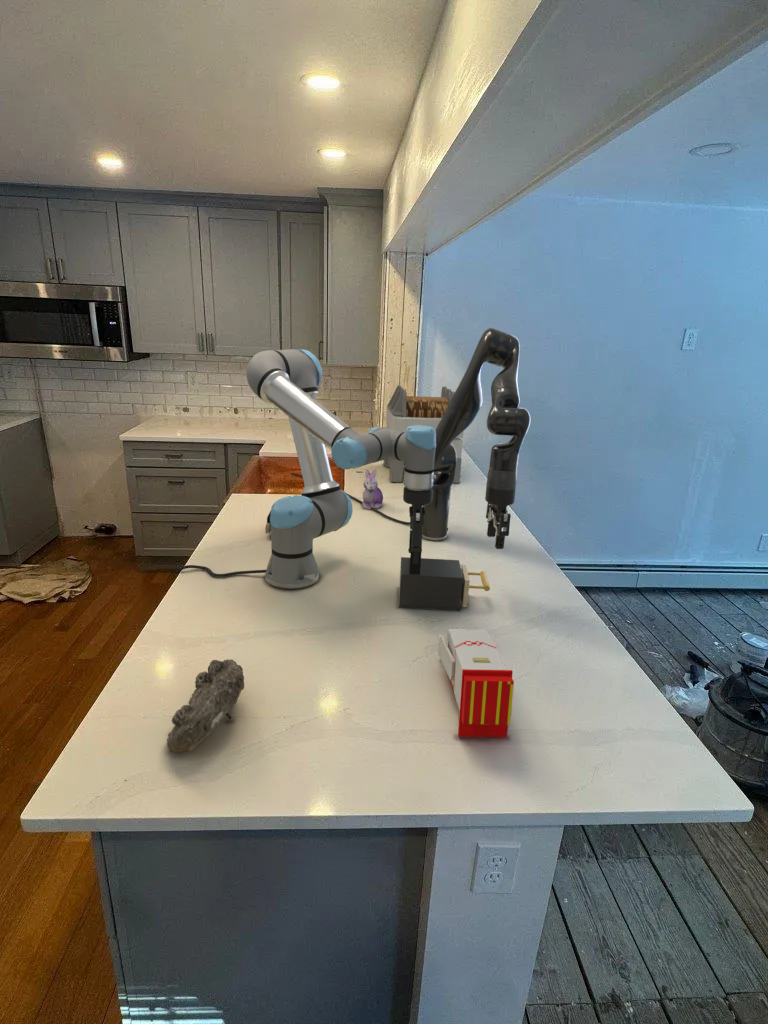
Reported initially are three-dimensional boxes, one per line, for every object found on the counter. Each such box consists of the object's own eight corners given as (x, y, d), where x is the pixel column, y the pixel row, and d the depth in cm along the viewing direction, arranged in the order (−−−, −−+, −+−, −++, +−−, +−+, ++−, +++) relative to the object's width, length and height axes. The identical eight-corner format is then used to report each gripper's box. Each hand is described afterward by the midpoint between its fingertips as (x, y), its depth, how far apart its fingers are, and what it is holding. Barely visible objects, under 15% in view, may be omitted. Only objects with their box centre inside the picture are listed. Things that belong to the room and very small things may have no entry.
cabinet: (456, 591, 161) (459, 560, 158) (459, 610, 150) (463, 577, 147) (399, 588, 161) (401, 557, 158) (398, 607, 151) (400, 574, 147)
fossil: (192, 660, 117) (244, 628, 112) (224, 691, 120) (276, 661, 115) (142, 746, 98) (202, 712, 93) (182, 779, 101) (242, 748, 96)
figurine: (367, 511, 220) (368, 474, 215) (356, 503, 228) (357, 467, 223) (388, 508, 224) (390, 471, 219) (377, 500, 233) (378, 465, 228)
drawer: (483, 590, 160) (485, 565, 157) (487, 608, 151) (491, 581, 148) (410, 586, 160) (412, 561, 157) (410, 603, 151) (412, 577, 148)
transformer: (382, 463, 289) (386, 382, 275) (445, 464, 293) (451, 384, 279) (390, 482, 257) (394, 392, 243) (460, 483, 261) (468, 394, 247)
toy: (488, 613, 130) (523, 677, 101) (484, 667, 133) (517, 744, 104) (435, 612, 130) (455, 676, 101) (432, 666, 133) (451, 743, 103)
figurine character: (285, 543, 190) (291, 523, 204) (284, 523, 187) (290, 504, 201) (265, 543, 190) (272, 522, 204) (263, 523, 187) (271, 503, 200)
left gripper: (435, 502, 133) (430, 584, 140) (430, 474, 157) (426, 545, 164) (403, 501, 133) (400, 583, 140) (403, 473, 157) (400, 544, 164)
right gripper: (523, 493, 141) (516, 553, 146) (507, 477, 154) (501, 532, 159) (494, 492, 140) (487, 552, 145) (480, 476, 153) (475, 532, 159)
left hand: (414, 562), depth 152 cm, fingers open, 13 cm apart
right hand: (494, 542), depth 152 cm, fingers open, 8 cm apart
